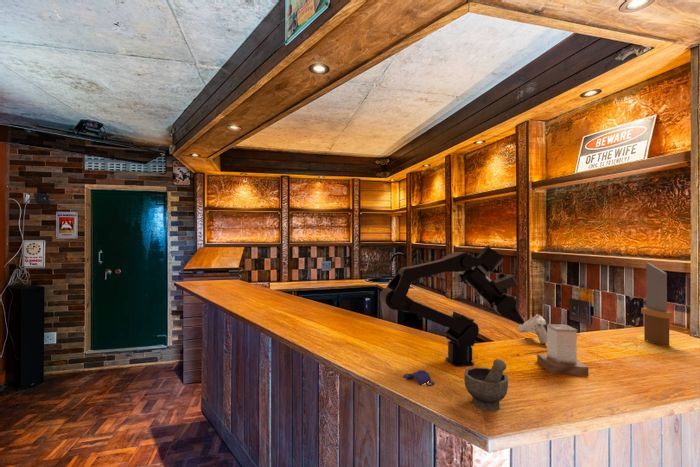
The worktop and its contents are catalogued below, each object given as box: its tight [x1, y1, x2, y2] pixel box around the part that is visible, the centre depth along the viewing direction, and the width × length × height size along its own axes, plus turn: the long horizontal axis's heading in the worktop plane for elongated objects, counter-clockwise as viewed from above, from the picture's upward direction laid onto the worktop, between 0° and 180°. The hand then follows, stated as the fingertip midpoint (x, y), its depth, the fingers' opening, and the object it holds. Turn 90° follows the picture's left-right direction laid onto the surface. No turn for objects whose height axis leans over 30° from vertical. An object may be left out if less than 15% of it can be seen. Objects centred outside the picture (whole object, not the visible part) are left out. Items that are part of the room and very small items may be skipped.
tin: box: [546, 323, 578, 364], centre depth 105 cm, size 6×6×10 cm
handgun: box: [517, 313, 547, 345], centre depth 136 cm, size 20×4×11 cm, turn 1°
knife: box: [640, 262, 674, 346], centre depth 131 cm, size 8×4×30 cm, turn 9°
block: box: [536, 353, 589, 376], centre depth 105 cm, size 10×10×3 cm
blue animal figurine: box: [402, 369, 436, 387], centre depth 95 cm, size 9×5×3 cm, turn 43°
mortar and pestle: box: [463, 358, 509, 412], centre depth 81 cm, size 11×9×12 cm
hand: (518, 319), depth 108 cm, fingers open, 9 cm apart
